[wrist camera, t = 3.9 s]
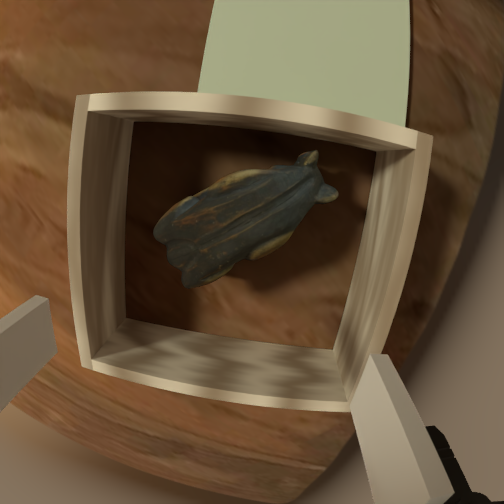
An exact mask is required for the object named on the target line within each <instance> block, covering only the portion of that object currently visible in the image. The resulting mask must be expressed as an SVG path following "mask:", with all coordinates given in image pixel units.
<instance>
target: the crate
mask: <svg viewBox="0 0 504 504" xmlns="http://www.w3.org/2000/svg"><path fill="white" fill-rule="evenodd" d="M134 122H170V123H188V124H203V125H215V126H226V127H236V128H245V129H254V130H262V131H269V132H276V133H283V134H290V135H296V136H302V137H308V138H314V139H320V140H325V141H330V142H336V143H341V144H345V145H350V146H355V147H360V148H364V149H368V150H373V151H376V159H375V165H374V172H373V178H372V184H371V190H370V196H369V202H368V207H367V213H366V218H365V223H364V228H363V233H362V238H361V242H360V247H359V252H358V256H357V261H356V265H355V269H354V273H353V278H352V282H351V286H350V290H349V294H348V298H347V301H346V305H345V309H344V313H343V316H342V320H341V324H340V327H339V331H338V334H337V338H336V341H335V344H334V348H333V350H330V349H319V348H309V347H299V346H290V345H281V344H273V343H265V342H258V341H251V340H244V339H237V338H230V337H224V336H217V335H211V334H205V333H200V332H194V331H188V330H183V329H178V328H172V327H167V326H162V325H157V324H152V323H148V322H143V321H138V320H134V319H129V318H126V301H125V221H126V200H127V184H128V171H129V160H130V150H131V141H132V132H133V125H134ZM432 142H433V136H431V135H428V134H425V133H422V132H419V131H416V130H412V129H409V128H406V127H402V126H399V125H395V124H392V123H388V122H384V121H380V120H376V119H373V118H368V117H364V116H360V115H356V114H351V113H347V112H342V111H338V110H333V109H328V108H323V107H317V106H312V105H306V104H300V103H294V102H287V101H280V100H273V99H265V98H257V97H248V96H238V95H226V94H212V93H194V92H118V93H100V94H87V95H77V97H76V104H75V111H74V118H73V126H72V134H71V144H70V155H69V169H68V191H67V241H68V262H69V277H70V288H71V298H72V307H73V315H74V322H75V329H76V336H77V342H78V348H79V353H80V359H81V364H82V367H85V368H88V369H91V370H94V371H97V372H101V373H104V374H107V375H111V376H114V377H118V378H121V379H125V380H128V381H132V382H136V383H140V384H144V385H148V386H152V387H156V388H160V389H165V390H169V391H174V392H178V393H183V394H188V395H193V396H198V397H204V398H210V399H215V400H221V401H228V402H235V403H242V404H249V405H257V406H266V407H275V408H286V409H298V410H312V411H334V412H351V410H350V404H351V401H352V399H353V396H354V394H355V392H356V389H357V387H358V384H359V382H360V379H361V377H362V374H363V371H364V369H365V366H366V363H367V361H368V358H369V355H370V354H381V352H382V350H383V347H384V344H385V341H386V339H387V336H388V333H389V330H390V327H391V324H392V321H393V318H394V315H395V312H396V309H397V306H398V303H399V299H400V296H401V293H402V289H403V286H404V283H405V279H406V275H407V272H408V268H409V264H410V261H411V257H412V253H413V249H414V244H415V240H416V236H417V231H418V227H419V222H420V217H421V212H422V207H423V202H424V197H425V191H426V185H427V179H428V173H429V166H430V158H431V151H432Z"/></svg>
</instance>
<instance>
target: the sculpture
mask: <svg viewBox="0 0 504 504" xmlns="http://www.w3.org/2000/svg"><path fill="white" fill-rule="evenodd" d="M318 157H319V154H318V151H317V150H314V151H310V152H305V153H302V154H301V155H299V157H298V159H297V161H296V162H295V163H294V165H292V166H285V165H274V166H272V167H270V168H269V169H267V170H264V169H247V170H240V171H236V172H233V173H231V174H229V175H226V176H224V177H222V178H221V179H219V180H218V181H216V182H215V183H213V184H212V185H211V186H210V187H208V188H207V189H205V190H203V191H201V192H199V193H197V194H195V195H194V196H189V197H186V198H185V199H183V200H181V201H180V202H178V203H176V204H175V205H174V206H172V207H171V208H170V209H169V210H168V211H167V212H166V213H165V214H164V215H163V216H162V217H161V219H160V220H159V221H158V223H157V224H156V226H155V227H154V230H153V235H154V237H155V239H156V240H157V241H159V242H160V243H162V244H165V245H166V247H167V259H168V262H169V263H170V264H171V265H172V266H174V267H176V268H177V269H179V270H181V271H182V278H181V281H182V284H183V285H184V287H185V288H188V289H190V288H195V287H200V286H203V285H206V284H209V283H212V282H214V281H216V280H217V279H219V278H221V277H222V276H224V275H225V274H226V273H227V272H229V271H230V270H231V269H232V267H233V265H234V264H235V263H237V262H239V261H240V260H242V259H247V260H257V259H260V258H262V257H264V256H266V255H268V254H270V253H272V252H273V251H275V250H277V249H278V248H280V247H281V246H282V245H283V244H285V243H286V241H287V240H288V239H289V238H290V236H291V235H292V233H293V232H294V230H295V229H296V227H297V226H298V224H299V223H300V222H301V220H302V219H303V218H304V216H305V215H306V213H307V212H308V211H309V210H310V209H311V207H312V206H313V205H314V204H324V203H329V202H331V201H334V200H335V199H336V198H337V197H338V191H337V190H336V189H335V188H334V187H332V186H330V185H327V184H325V183H324V180H323V177H322V175H321V173H320V171H319V169H318V167H317V161H318Z"/></svg>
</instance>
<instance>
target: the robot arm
mask: <svg viewBox="0 0 504 504" xmlns="http://www.w3.org/2000/svg"><path fill="white" fill-rule="evenodd" d="M57 352H58V351H57V347H56V342H55V336H54V331H53V325H52V319H51V313H50V306H49V299H48V298H44V297H41V296H38V295H35V296H34V297H32V298H31V299H29V300H28V301H26V302H25V303H23V304H22V305H20V306H19V307H17V308H16V309H14V310H13V311H12V312H10V313H9V314H7V315H6V316H4V317H3V318H1V319H0V412H1V411H2V410H3V409H4V408H5V407H6V405H7V404H8V403H9V402H10V401H11V400H12V399H13V398H14V397H15V396H16V395H17V394H18V392H19V391H20V390H21V389H22V388H23V387H24V386H25V385H26V384H27V383H28V382H29V381H30V380H31V379H32V378H33V377H34V376H35V375H36V374H37V372H38V371H39V370H40V369H41V368H42V367H43V366H44V365H45V364H46V363H47V362H48V361H49V360H50V359H51V358H52V357H53V356H54V355H55V354H56V353H57ZM350 410H351V413H352V417H353V421H354V425H355V428H356V432H357V436H358V440H359V444H360V447H361V451H362V455H363V459H364V463H365V467H366V471H367V476H368V480H369V484H370V488H371V493H372V497H373V501H374V504H504V501H497V502H491V501H490V500H489V499H488V498H487V496H485V495H483V494H481V493H477V492H472V491H471V489H470V487H469V485H468V483H467V481H466V478H465V476H464V474H463V472H462V470H461V468H460V466H459V464H458V462H457V460H456V458H454V454H453V452H452V449H450V446H449V444H448V442H447V440H446V438H445V436H444V435H443V434H442V433H441V432H440V431H439V430H438V429H437V428H436V427H435V426H426V427H425V426H424V424H423V422H422V420H421V418H420V416H419V414H418V412H417V410H416V408H415V406H414V404H413V402H412V400H411V398H410V396H409V394H408V392H407V390H406V388H405V386H404V384H403V382H402V380H401V379H400V377H399V375H398V373H397V371H396V369H395V367H394V365H393V363H392V362H391V360H390V358H389V356H388V354H370V355H369V358H368V361H367V363H366V366H365V369H364V371H363V374H362V377H361V379H360V382H359V384H358V387H357V389H356V392H355V394H354V396H353V399H352V401H351V404H350Z"/></svg>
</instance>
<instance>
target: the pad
mask: <svg viewBox="0 0 504 504" xmlns="http://www.w3.org/2000/svg"><path fill="white" fill-rule="evenodd" d="M409 64H410V7H409V0H215V2H214V6H213V11H212V16H211V21H210V26H209V31H208V36H207V41H206V46H205V52H204V57H203V63H202V68H201V74H200V80H199V87H198V93H212V94H226V95H238V96H248V97H257V98H265V99H273V100H280V101H287V102H294V103H300V104H306V105H312V106H317V107H323V108H328V109H333V110H338V111H342V112H347V113H351V114H356V115H360V116H364V117H368V118H373V119H376V120H380V121H384V122H388V123H392V124H395V125H399V126H402V127H405V122H406V111H407V99H408V85H409Z"/></svg>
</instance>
